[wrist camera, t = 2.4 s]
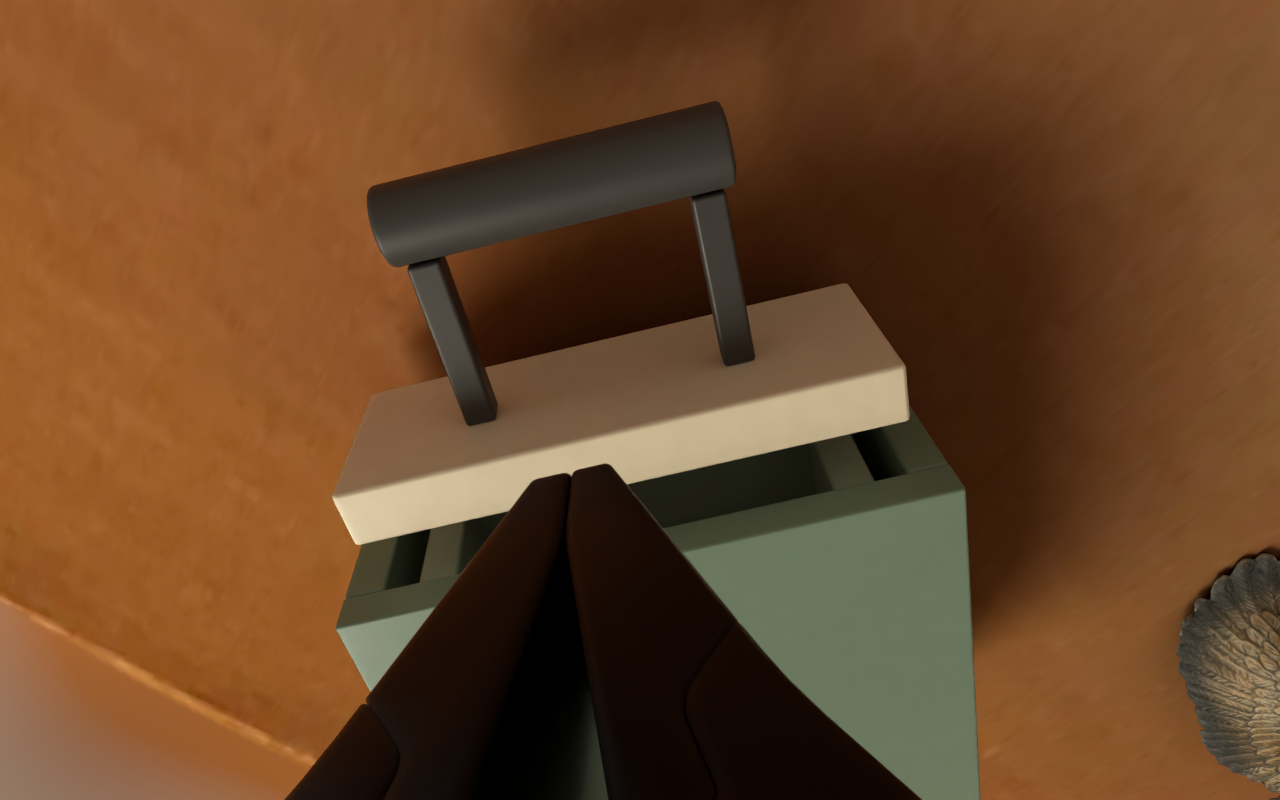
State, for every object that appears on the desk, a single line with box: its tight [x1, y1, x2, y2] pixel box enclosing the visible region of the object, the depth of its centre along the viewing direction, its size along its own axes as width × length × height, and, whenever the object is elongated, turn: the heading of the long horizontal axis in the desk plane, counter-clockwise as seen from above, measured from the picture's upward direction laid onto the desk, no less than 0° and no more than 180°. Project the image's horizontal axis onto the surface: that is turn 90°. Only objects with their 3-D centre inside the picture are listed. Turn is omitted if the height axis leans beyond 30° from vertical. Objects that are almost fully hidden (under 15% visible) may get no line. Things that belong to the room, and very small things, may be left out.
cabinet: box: [336, 405, 980, 800], centre depth 21 cm, size 12×12×6 cm
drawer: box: [333, 101, 910, 583], centre depth 19 cm, size 15×10×4 cm
